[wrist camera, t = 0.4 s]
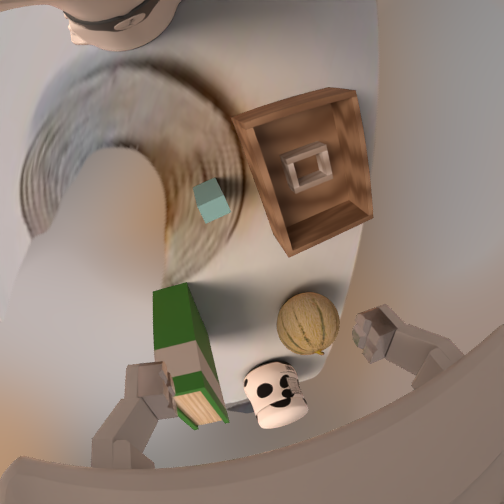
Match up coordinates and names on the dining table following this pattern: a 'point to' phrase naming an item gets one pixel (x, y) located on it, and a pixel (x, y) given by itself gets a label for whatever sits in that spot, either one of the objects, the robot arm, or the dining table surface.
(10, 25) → the dining table surface
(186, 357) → the hardback book
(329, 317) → the cantaloupe
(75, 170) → the dining table surface
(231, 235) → the dining table surface
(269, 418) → the milk container
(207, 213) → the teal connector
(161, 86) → the dining table surface
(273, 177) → the walled box
